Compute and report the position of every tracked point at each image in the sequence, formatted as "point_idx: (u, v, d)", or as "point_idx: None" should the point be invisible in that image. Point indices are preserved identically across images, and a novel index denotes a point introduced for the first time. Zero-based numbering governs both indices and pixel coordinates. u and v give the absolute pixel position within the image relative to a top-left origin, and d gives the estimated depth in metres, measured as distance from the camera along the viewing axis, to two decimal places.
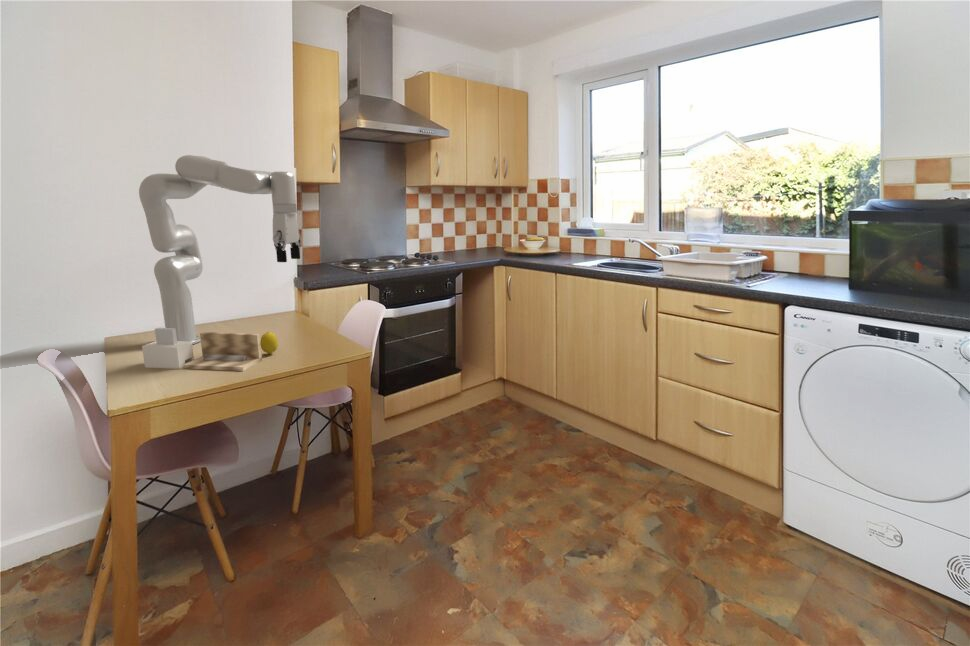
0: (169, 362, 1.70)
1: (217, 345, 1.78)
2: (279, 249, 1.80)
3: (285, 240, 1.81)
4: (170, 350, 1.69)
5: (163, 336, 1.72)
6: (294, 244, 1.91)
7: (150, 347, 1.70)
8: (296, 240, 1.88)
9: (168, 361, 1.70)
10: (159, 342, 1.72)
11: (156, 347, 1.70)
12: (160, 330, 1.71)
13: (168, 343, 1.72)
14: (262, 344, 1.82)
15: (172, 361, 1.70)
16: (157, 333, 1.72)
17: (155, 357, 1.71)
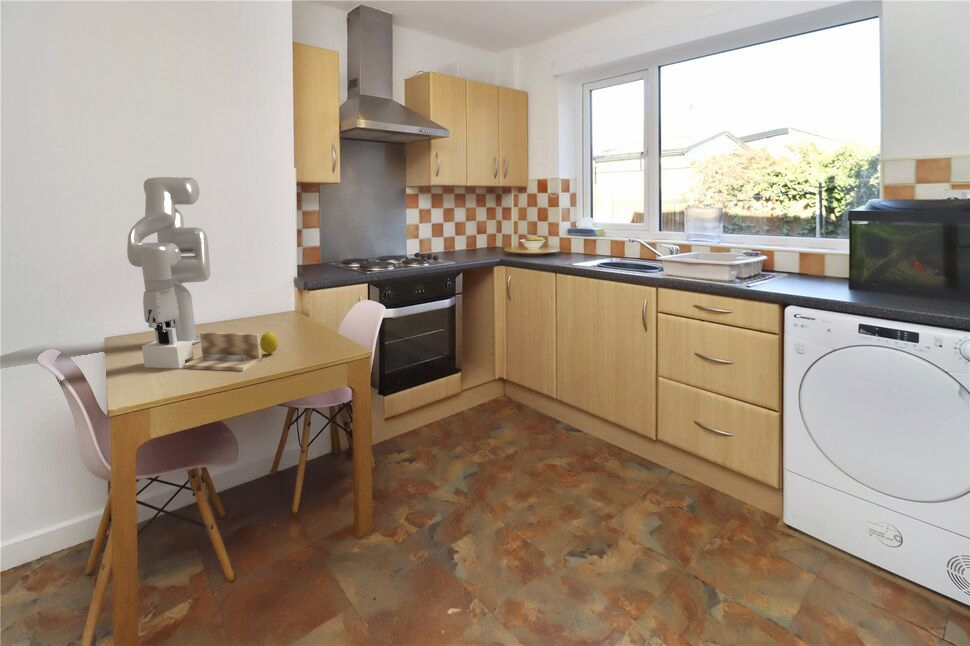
0: (169, 362, 1.70)
1: (217, 345, 1.78)
2: (160, 332, 1.70)
3: (157, 320, 1.66)
4: (170, 350, 1.69)
5: None
6: (167, 326, 1.73)
7: (150, 347, 1.70)
8: (174, 316, 1.73)
9: (168, 361, 1.70)
10: None
11: (156, 347, 1.70)
12: None
13: None
14: (262, 344, 1.82)
15: (172, 361, 1.70)
16: (157, 333, 1.72)
17: (155, 357, 1.71)
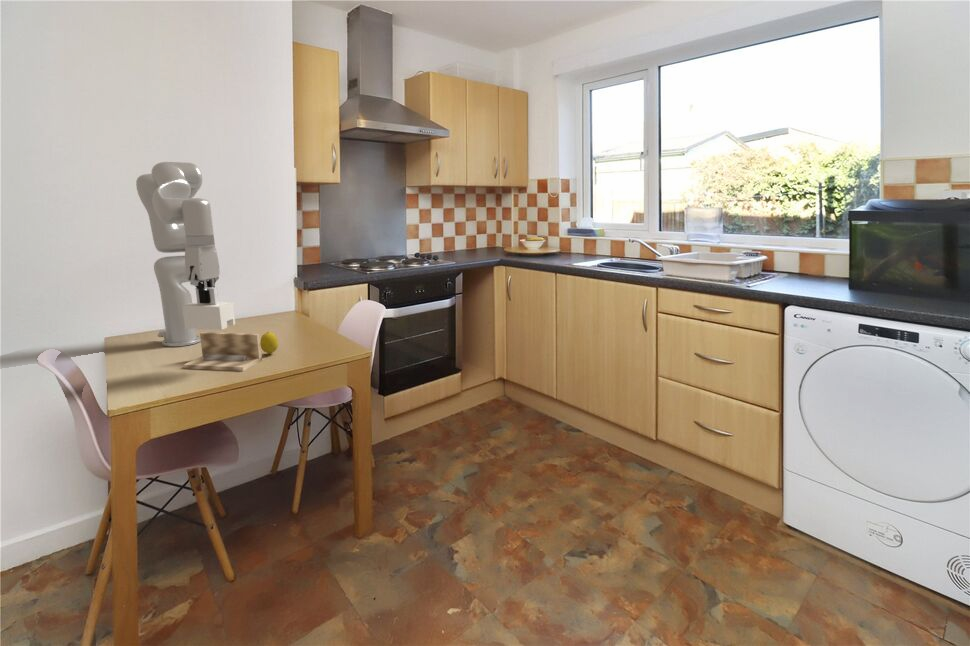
0: (211, 322, 1.64)
1: (217, 345, 1.78)
2: (202, 290, 1.63)
3: (199, 277, 1.59)
4: (212, 310, 1.63)
5: None
6: (208, 285, 1.66)
7: (191, 307, 1.63)
8: (215, 275, 1.66)
9: (210, 321, 1.64)
10: None
11: (197, 307, 1.63)
12: None
13: (209, 303, 1.65)
14: (262, 344, 1.82)
15: (214, 321, 1.63)
16: (198, 292, 1.65)
17: (196, 317, 1.64)
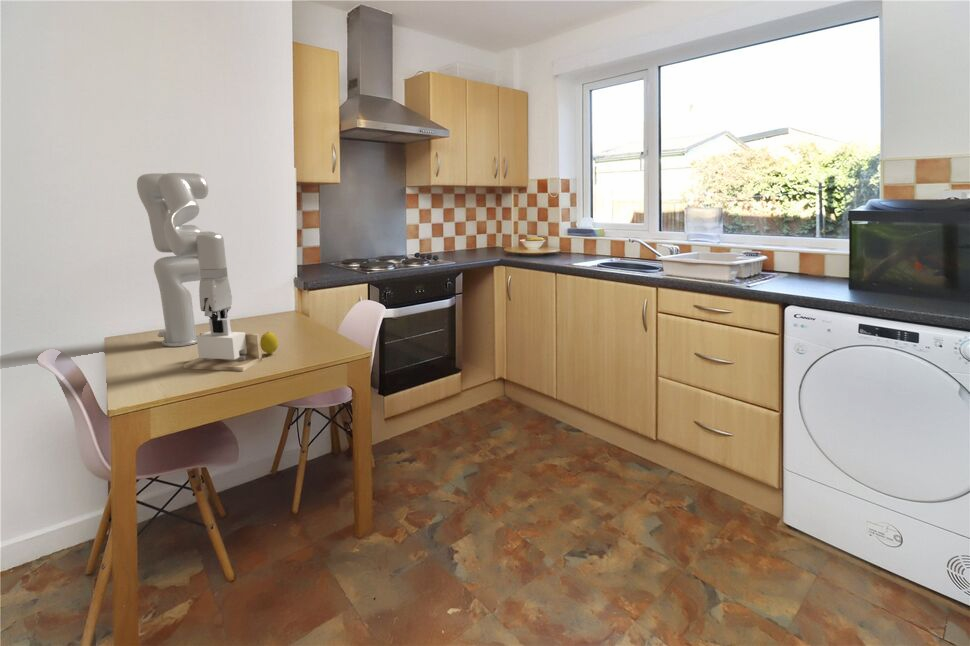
0: (224, 352, 1.70)
1: None
2: (215, 320, 1.70)
3: (213, 308, 1.66)
4: (225, 341, 1.69)
5: None
6: (221, 315, 1.73)
7: (205, 338, 1.70)
8: (228, 305, 1.73)
9: (223, 351, 1.70)
10: (213, 332, 1.72)
11: (211, 337, 1.70)
12: None
13: (222, 334, 1.72)
14: (262, 344, 1.82)
15: (227, 351, 1.70)
16: None
17: (210, 348, 1.70)
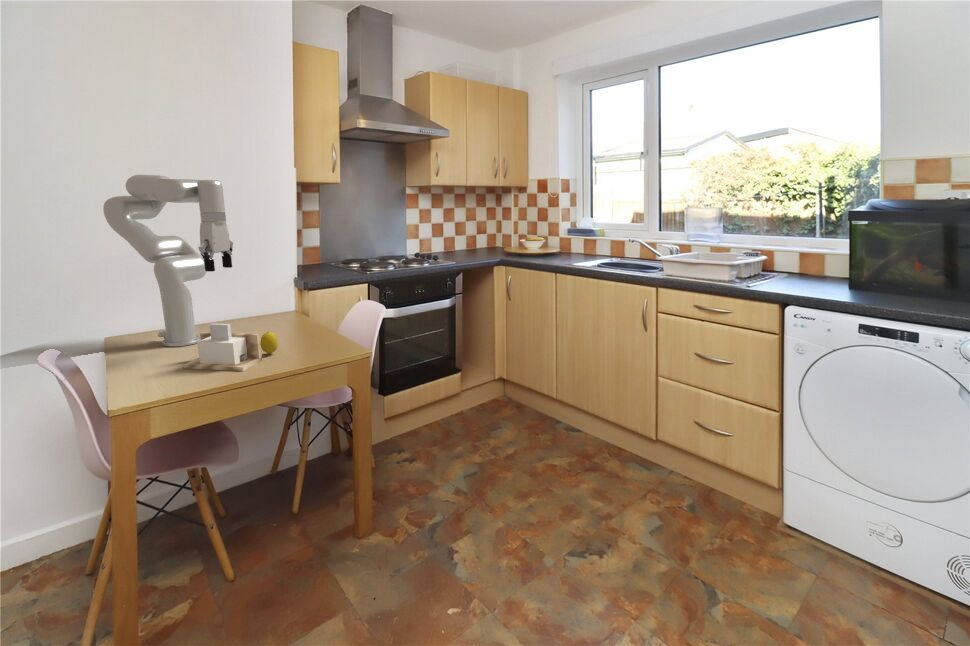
0: (224, 358, 1.70)
1: None
2: (206, 258, 1.78)
3: (212, 249, 1.79)
4: (226, 346, 1.69)
5: (218, 332, 1.72)
6: (226, 253, 1.89)
7: (206, 343, 1.70)
8: (226, 249, 1.86)
9: (223, 357, 1.70)
10: (214, 338, 1.72)
11: (212, 343, 1.70)
12: (215, 326, 1.71)
13: (223, 339, 1.72)
14: (262, 344, 1.82)
15: (227, 357, 1.70)
16: (212, 329, 1.72)
17: (211, 353, 1.71)
